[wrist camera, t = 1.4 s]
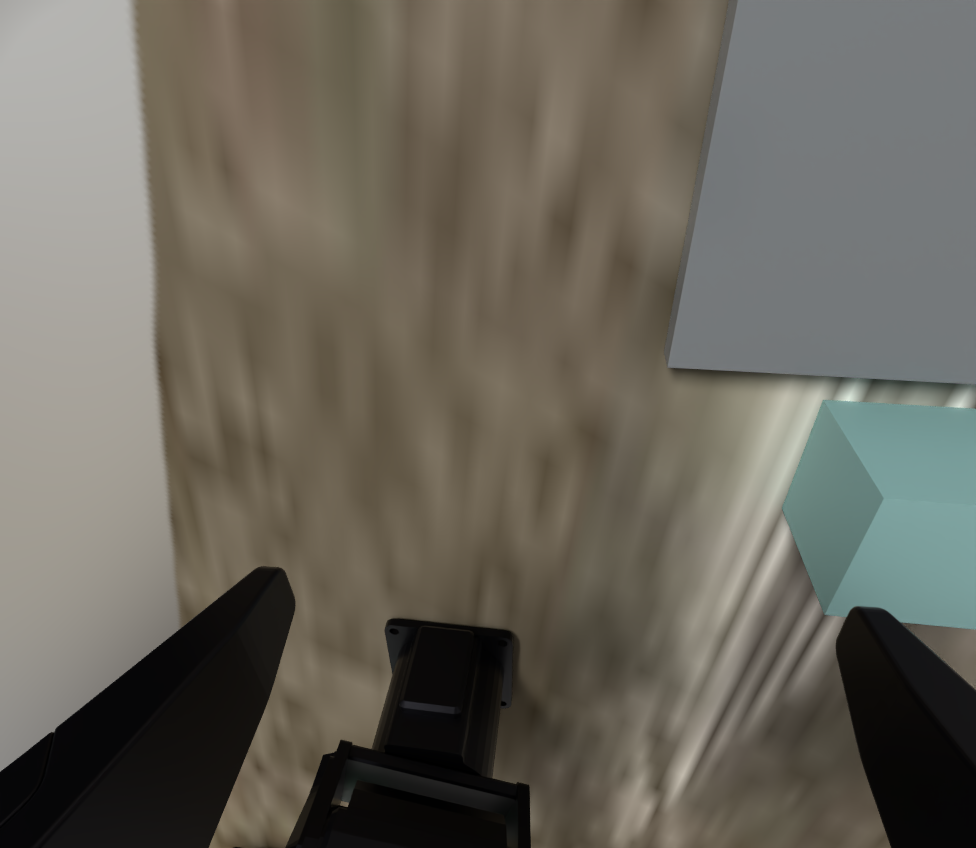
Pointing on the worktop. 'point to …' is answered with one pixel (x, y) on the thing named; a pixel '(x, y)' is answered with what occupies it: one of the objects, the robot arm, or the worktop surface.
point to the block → (889, 511)
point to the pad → (835, 195)
